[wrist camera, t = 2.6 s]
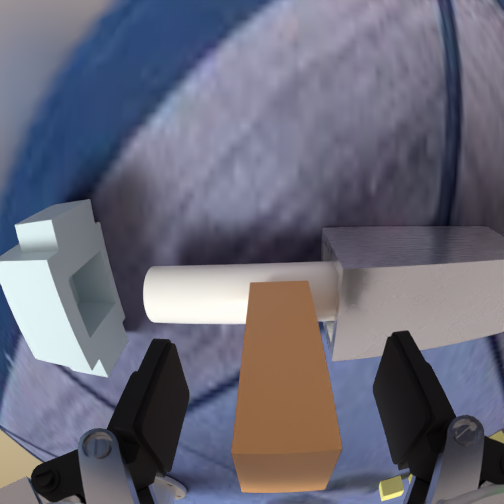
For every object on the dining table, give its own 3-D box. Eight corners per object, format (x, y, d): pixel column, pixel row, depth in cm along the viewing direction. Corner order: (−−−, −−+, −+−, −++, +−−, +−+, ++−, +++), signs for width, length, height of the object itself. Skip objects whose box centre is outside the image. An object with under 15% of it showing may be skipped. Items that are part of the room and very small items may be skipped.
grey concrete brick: (471, 290, 17) (507, 330, 12) (318, 304, 18) (331, 361, 13) (486, 226, 15) (533, 257, 10) (321, 227, 16) (343, 269, 11)
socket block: (131, 335, 20) (101, 389, 15) (79, 330, 20) (45, 375, 15) (95, 196, 16) (37, 227, 11) (40, 205, 16) (-16, 234, 11)
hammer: (472, 287, 16) (563, 398, 6) (167, 302, 17) (92, 465, 7) (482, 246, 15) (594, 349, 5) (158, 256, 16) (50, 417, 6)
